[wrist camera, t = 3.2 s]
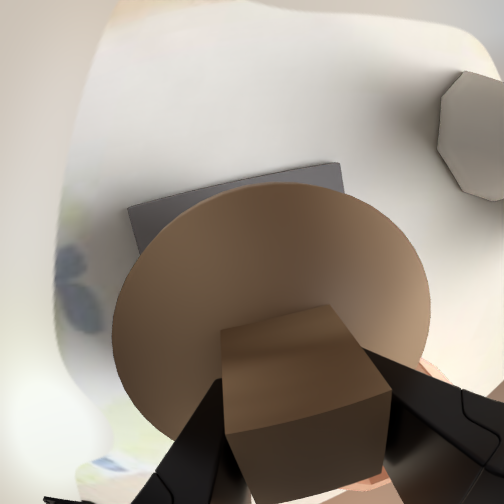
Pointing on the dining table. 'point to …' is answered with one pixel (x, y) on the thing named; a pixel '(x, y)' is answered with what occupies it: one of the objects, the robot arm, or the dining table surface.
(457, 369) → the dining table surface
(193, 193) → the mat
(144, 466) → the dining table surface
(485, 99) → the flask
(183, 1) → the dining table surface
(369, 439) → the lid
